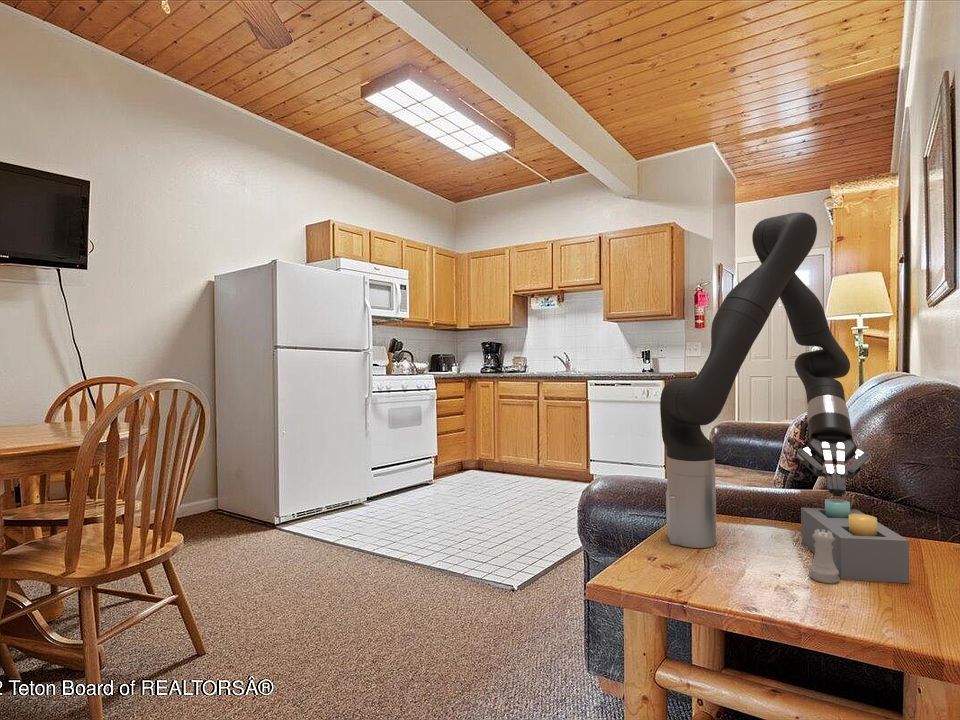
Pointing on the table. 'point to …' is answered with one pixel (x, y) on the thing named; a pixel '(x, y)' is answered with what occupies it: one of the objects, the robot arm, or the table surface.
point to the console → (859, 548)
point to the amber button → (862, 525)
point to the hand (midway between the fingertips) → (837, 494)
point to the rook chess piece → (823, 559)
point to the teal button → (837, 508)
